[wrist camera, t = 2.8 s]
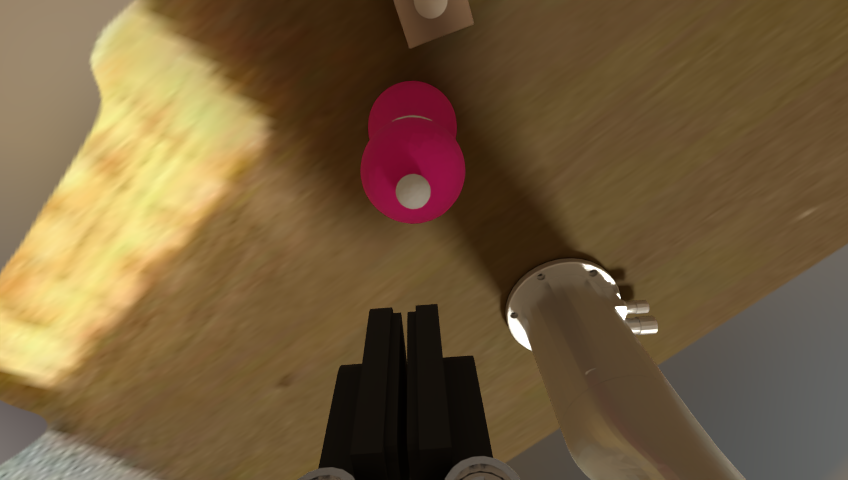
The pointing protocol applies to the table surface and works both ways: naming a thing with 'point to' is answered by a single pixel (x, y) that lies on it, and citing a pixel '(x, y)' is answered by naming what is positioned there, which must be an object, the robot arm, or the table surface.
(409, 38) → the walnut block
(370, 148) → the pepper mill
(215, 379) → the table surface
